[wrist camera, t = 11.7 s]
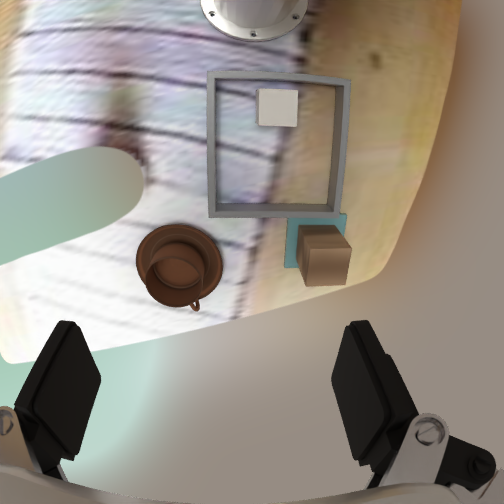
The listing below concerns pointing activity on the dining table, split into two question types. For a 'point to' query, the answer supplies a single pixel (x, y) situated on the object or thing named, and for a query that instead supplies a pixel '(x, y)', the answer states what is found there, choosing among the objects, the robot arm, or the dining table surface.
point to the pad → (293, 234)
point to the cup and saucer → (179, 265)
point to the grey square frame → (336, 162)
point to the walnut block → (322, 255)
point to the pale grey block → (276, 107)
